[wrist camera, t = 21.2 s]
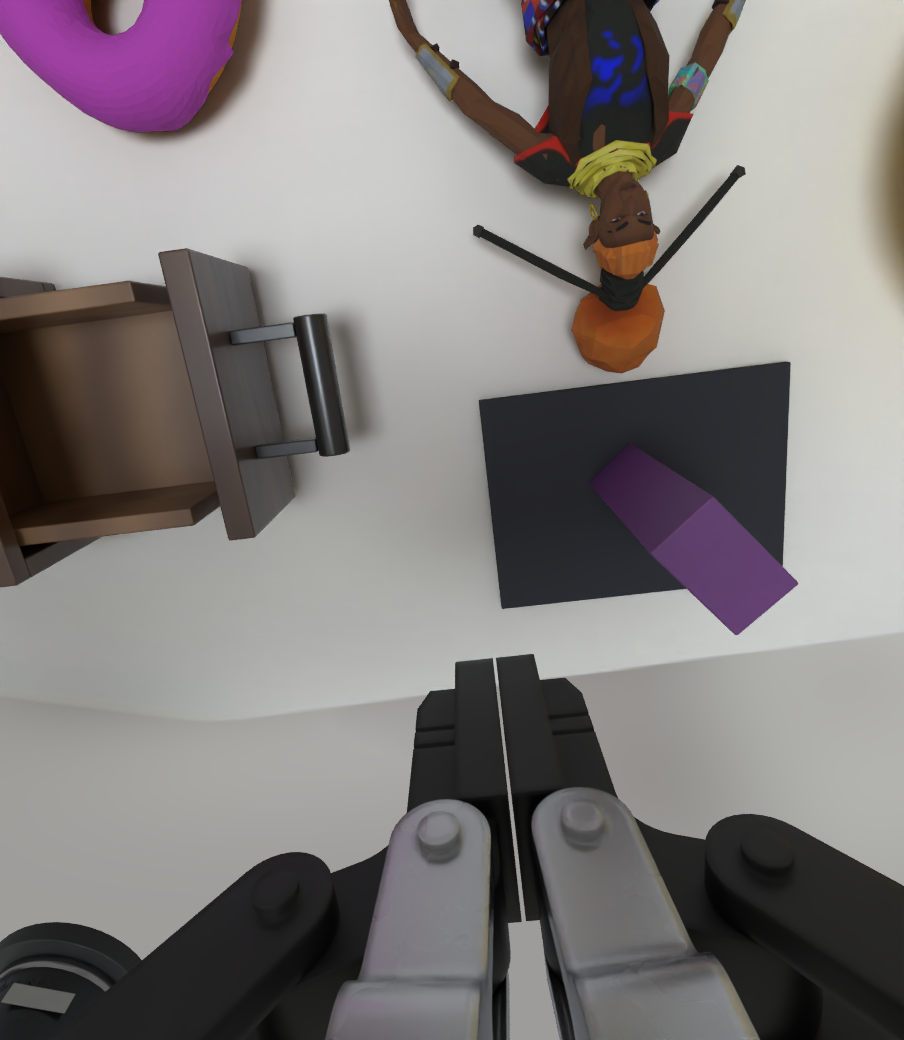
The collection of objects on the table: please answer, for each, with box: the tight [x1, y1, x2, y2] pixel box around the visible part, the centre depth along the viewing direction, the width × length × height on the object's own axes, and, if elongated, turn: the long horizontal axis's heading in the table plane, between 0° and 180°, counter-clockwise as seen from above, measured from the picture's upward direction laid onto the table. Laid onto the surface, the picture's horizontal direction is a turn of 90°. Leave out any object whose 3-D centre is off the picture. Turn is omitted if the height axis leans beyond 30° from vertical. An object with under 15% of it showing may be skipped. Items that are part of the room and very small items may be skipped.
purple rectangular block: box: [589, 443, 798, 635], centre depth 28 cm, size 5×3×11 cm, turn 47°
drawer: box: [0, 248, 350, 546], centre depth 28 cm, size 18×12×7 cm, turn 97°
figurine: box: [389, 0, 746, 373], centre depth 25 cm, size 16×8×30 cm
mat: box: [479, 362, 790, 609], centre depth 33 cm, size 12×16×1 cm
